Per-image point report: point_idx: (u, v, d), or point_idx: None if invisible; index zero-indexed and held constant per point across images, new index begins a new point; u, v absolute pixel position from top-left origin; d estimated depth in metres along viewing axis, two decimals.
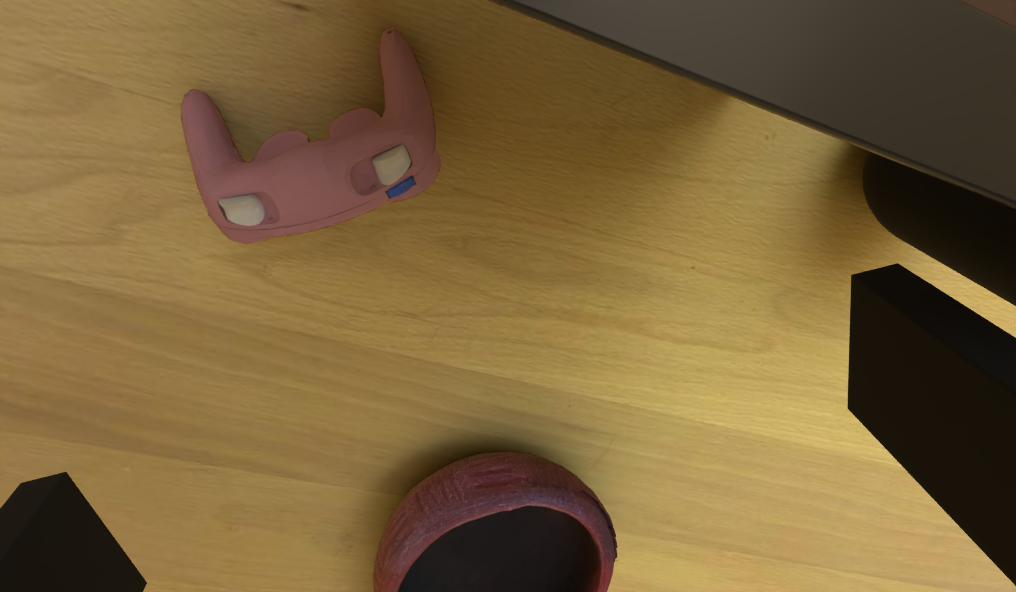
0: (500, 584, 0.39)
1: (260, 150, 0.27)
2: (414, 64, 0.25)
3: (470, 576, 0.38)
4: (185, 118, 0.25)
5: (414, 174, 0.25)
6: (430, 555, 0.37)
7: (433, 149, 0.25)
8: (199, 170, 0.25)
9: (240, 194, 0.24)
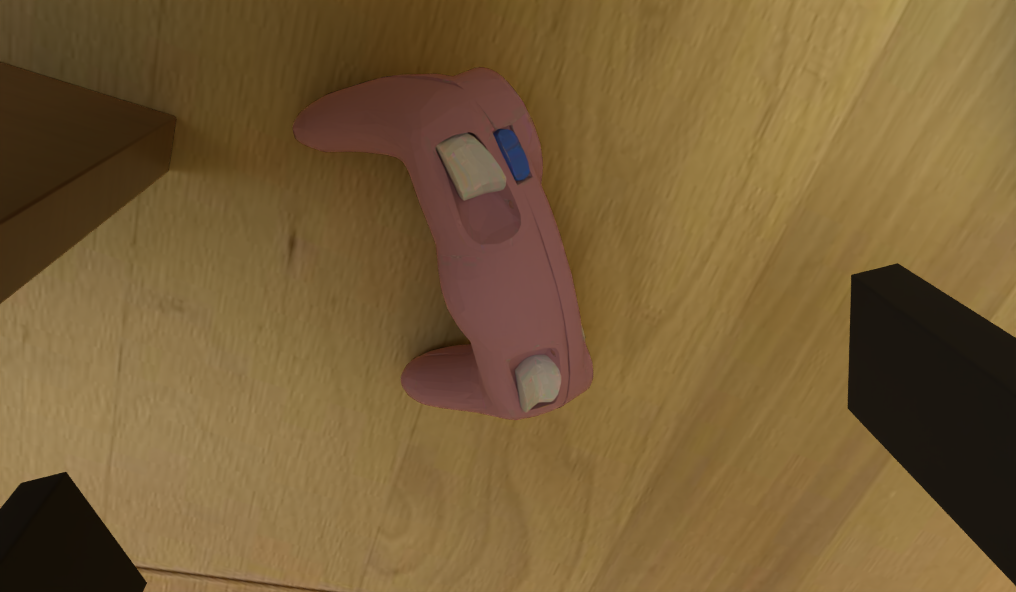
0: None
1: None
2: (333, 99, 0.16)
3: None
4: (428, 403, 0.20)
5: (492, 128, 0.14)
6: None
7: (455, 85, 0.14)
8: (486, 412, 0.18)
9: (514, 384, 0.17)
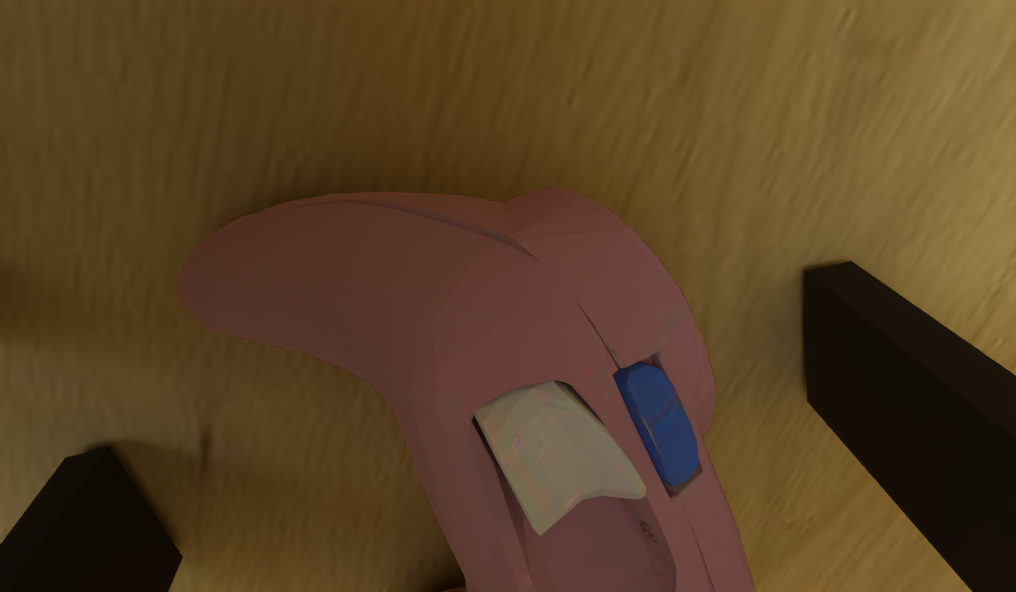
0: None
1: None
2: (249, 241, 0.08)
3: None
4: None
5: (612, 367, 0.05)
6: None
7: (517, 247, 0.06)
8: None
9: None
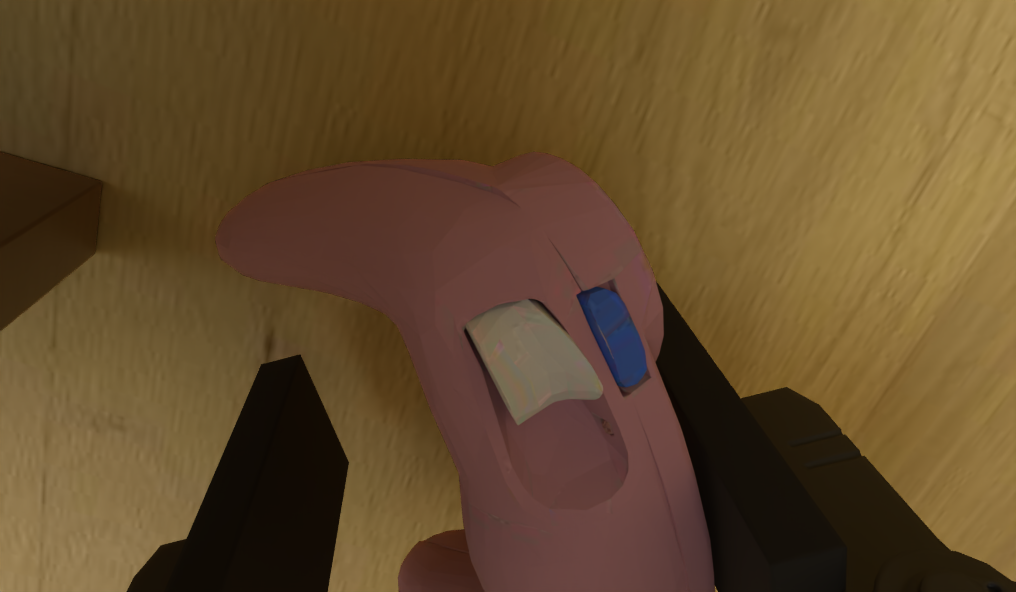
0: None
1: None
2: (279, 199, 0.09)
3: None
4: None
5: (576, 289, 0.07)
6: None
7: (501, 196, 0.07)
8: None
9: None
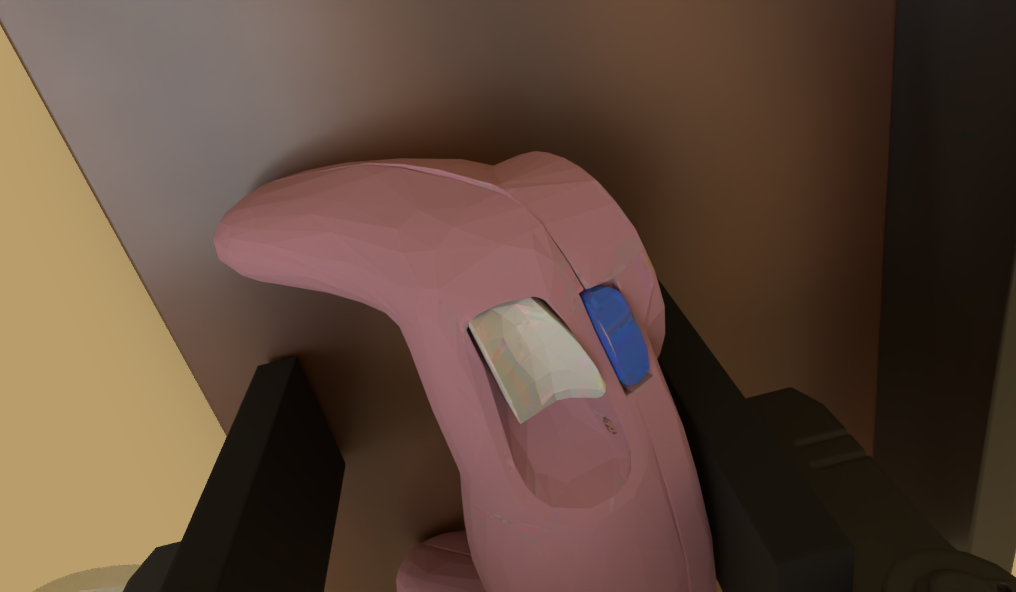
0: None
1: None
2: (278, 199, 0.09)
3: None
4: None
5: (579, 287, 0.07)
6: None
7: (503, 195, 0.07)
8: None
9: None
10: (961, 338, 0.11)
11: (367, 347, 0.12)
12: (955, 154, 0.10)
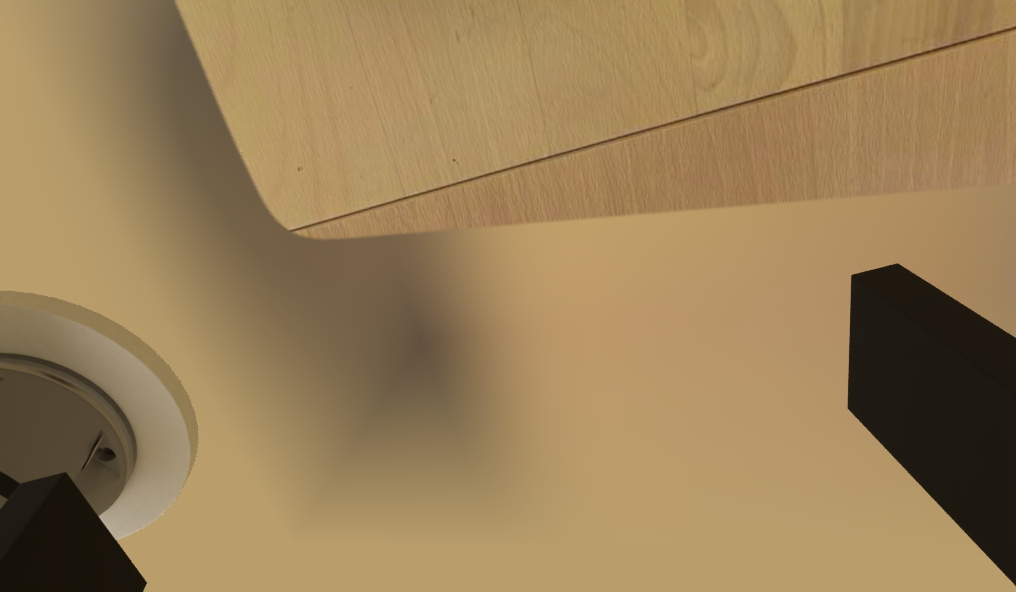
0: None
1: None
2: None
3: None
4: None
5: None
6: None
7: None
8: None
9: None
10: None
11: None
12: None
